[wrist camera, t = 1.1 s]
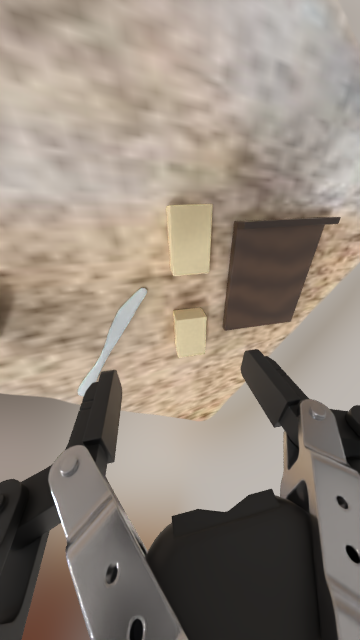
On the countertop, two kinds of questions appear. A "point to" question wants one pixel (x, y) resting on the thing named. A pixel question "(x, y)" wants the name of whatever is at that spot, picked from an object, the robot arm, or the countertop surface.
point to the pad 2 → (190, 331)
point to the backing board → (269, 269)
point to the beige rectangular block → (189, 238)
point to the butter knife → (113, 336)
